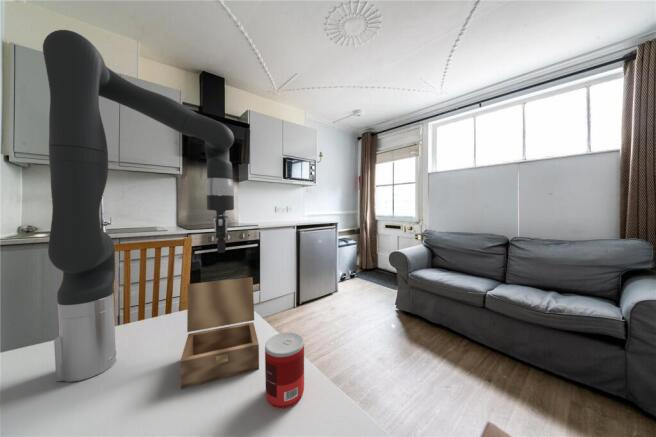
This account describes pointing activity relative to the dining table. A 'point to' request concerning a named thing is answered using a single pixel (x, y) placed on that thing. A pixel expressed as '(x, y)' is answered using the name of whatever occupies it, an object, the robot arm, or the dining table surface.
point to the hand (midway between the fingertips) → (221, 250)
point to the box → (219, 354)
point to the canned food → (284, 369)
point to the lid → (219, 303)
